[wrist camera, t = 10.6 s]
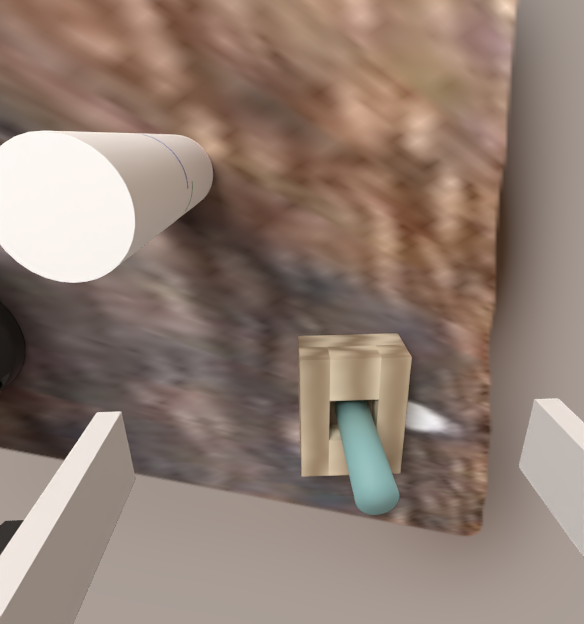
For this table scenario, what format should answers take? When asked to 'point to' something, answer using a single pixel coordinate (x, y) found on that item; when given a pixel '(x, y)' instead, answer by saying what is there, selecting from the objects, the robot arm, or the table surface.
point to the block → (350, 395)
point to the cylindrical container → (93, 197)
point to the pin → (365, 458)
